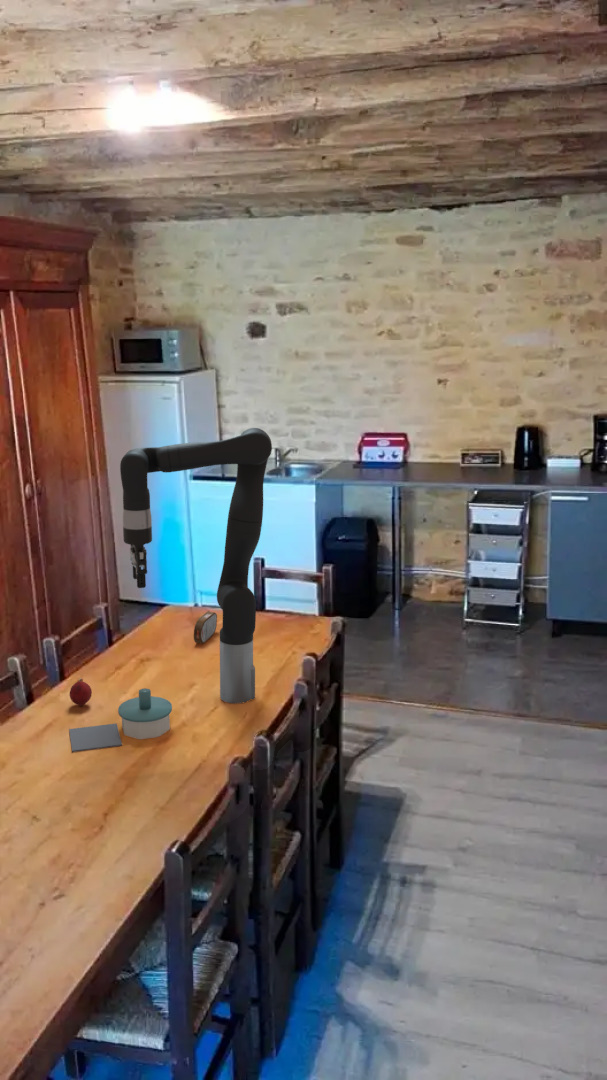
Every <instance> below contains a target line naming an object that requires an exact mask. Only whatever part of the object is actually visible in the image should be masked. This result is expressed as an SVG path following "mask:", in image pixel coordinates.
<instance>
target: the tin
mask: <svg viewBox="0 0 607 1080" xmlns="http://www.w3.org/2000/svg"><path fill="white" fill-rule="evenodd" d="M217 622H218V614H217V613H216V612H214V611H210V610H208V611H206V612H204V613H203V614H202V615H201V616H200V617H199V618H197V620H196V622H195V624H194V629H193V641H194V642H195V643H197V644H205V643H206V642H207V641H208V640H210V639H211V638H212V636H214V634H215V632H216V630H217V626H218V623H217Z"/></svg>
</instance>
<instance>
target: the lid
mask: <svg viewBox="0 0 607 1080" xmlns="http://www.w3.org/2000/svg"><path fill="white" fill-rule="evenodd" d="M151 692H152V691H151V689H150V688H145V687H144V688H141V689H139V690H138V696H137V697H133V698H130V699H127V700H124V702H122V703H120V705H119V706H118V708H117V712H118V715H119V717H121V719H122V718H123V719H125V720H128V721H133V722H150V721H156V720H159V719H162V718H164V717H166V716H168V715H169V716H170V714H171V713H172V711H173V710H172V709H173V705H172V703H171V702H170V701H169V700H168V699H166V698H164V697H159V696H153V695H152V694H151Z"/></svg>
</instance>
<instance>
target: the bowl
mask: <svg viewBox="0 0 607 1080" xmlns="http://www.w3.org/2000/svg"><path fill="white" fill-rule="evenodd" d="M170 720H171V719H170V714H169V715H168V716H166V717H164V718H162V719H159V720H156V721H150V722H133V721H128V720H125V719H123V718H122V717H121V727H122V732H123V735H124V736H127V737H130V738H134V739H137V740H145V739H152V738H159V737H161V736H162V735H164V734H165V733H166V732H168V731H169V730H170V729H171V727H170V725H171V724H170V722H171V721H170Z"/></svg>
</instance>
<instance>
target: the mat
mask: <svg viewBox="0 0 607 1080" xmlns="http://www.w3.org/2000/svg"><path fill="white" fill-rule="evenodd" d="M68 731H69V737H70V739H69V740H70V746H71V752H72V753H77V752H86V751H93V750H101V749H106V748H107V749H108V748H113V747H115V748H116V747H121V746H123V743H122V740H121V739H122V738H121V735H120V731H119V727H118V723H115V722H114V723H108V724H100V725H93V726H92V725H90V726H84V727H76V728H69V729H68Z"/></svg>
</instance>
